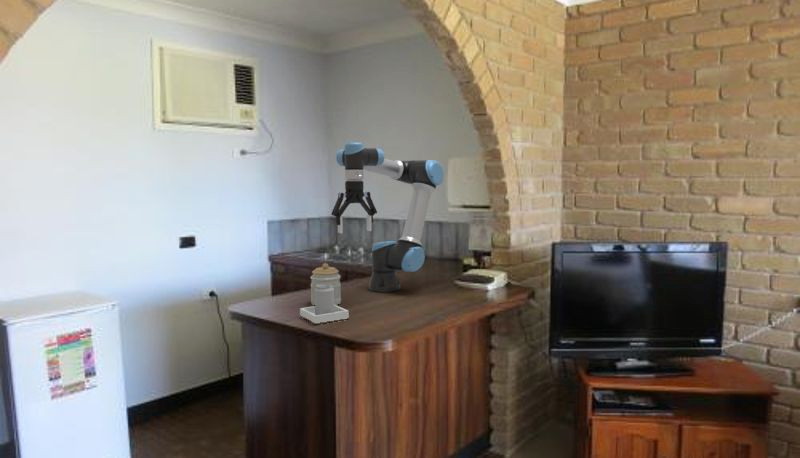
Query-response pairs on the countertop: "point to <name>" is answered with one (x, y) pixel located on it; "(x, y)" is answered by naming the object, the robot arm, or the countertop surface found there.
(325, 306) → the can
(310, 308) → the tray
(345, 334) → the countertop surface
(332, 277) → the jar
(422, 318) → the countertop surface
